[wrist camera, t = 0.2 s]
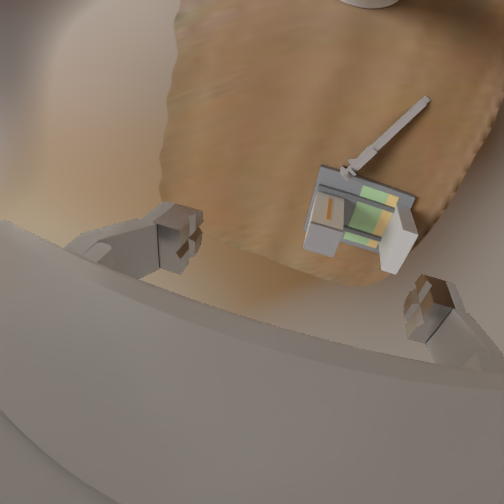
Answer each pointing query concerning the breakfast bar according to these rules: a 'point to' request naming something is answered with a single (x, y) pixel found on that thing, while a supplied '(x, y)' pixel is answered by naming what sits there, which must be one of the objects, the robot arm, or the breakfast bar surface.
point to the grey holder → (371, 216)
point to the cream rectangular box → (325, 224)
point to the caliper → (382, 140)
